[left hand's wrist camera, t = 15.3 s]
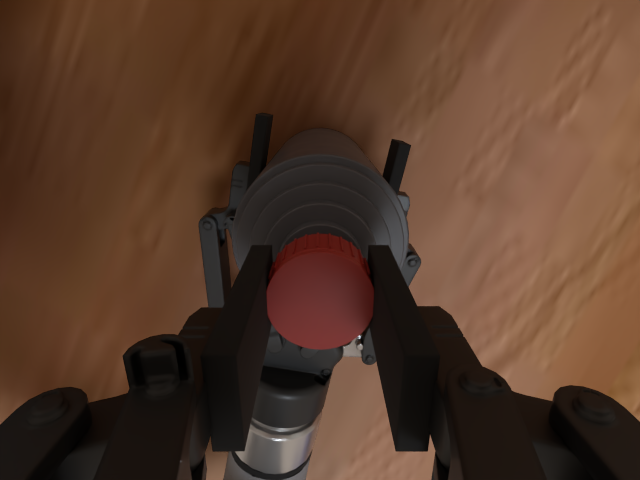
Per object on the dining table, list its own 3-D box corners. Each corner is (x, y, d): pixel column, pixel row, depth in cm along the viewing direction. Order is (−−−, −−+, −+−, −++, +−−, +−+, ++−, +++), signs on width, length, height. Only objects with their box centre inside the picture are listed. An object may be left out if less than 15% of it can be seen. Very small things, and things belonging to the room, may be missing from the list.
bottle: (377, 135, 32) (470, 195, 12) (359, 230, 35) (411, 403, 15) (276, 121, 31) (202, 158, 12) (267, 217, 34) (195, 379, 14)
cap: (260, 240, 14) (251, 260, 12) (364, 224, 14) (370, 242, 12) (280, 328, 15) (275, 358, 13) (375, 315, 15) (382, 343, 13)
